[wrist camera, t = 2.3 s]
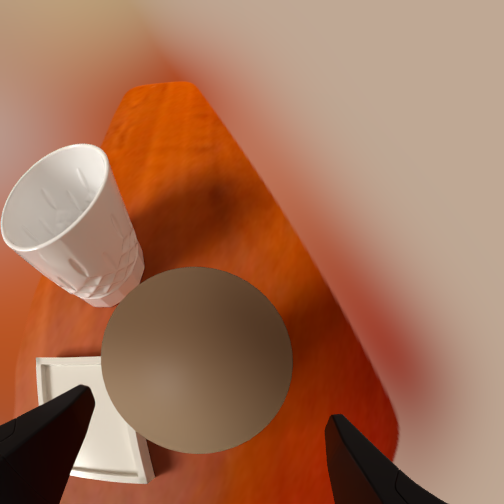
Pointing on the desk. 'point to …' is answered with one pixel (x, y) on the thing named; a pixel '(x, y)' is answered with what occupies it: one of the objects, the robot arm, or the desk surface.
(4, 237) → the white cup
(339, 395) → the desk surface
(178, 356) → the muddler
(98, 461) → the tray
